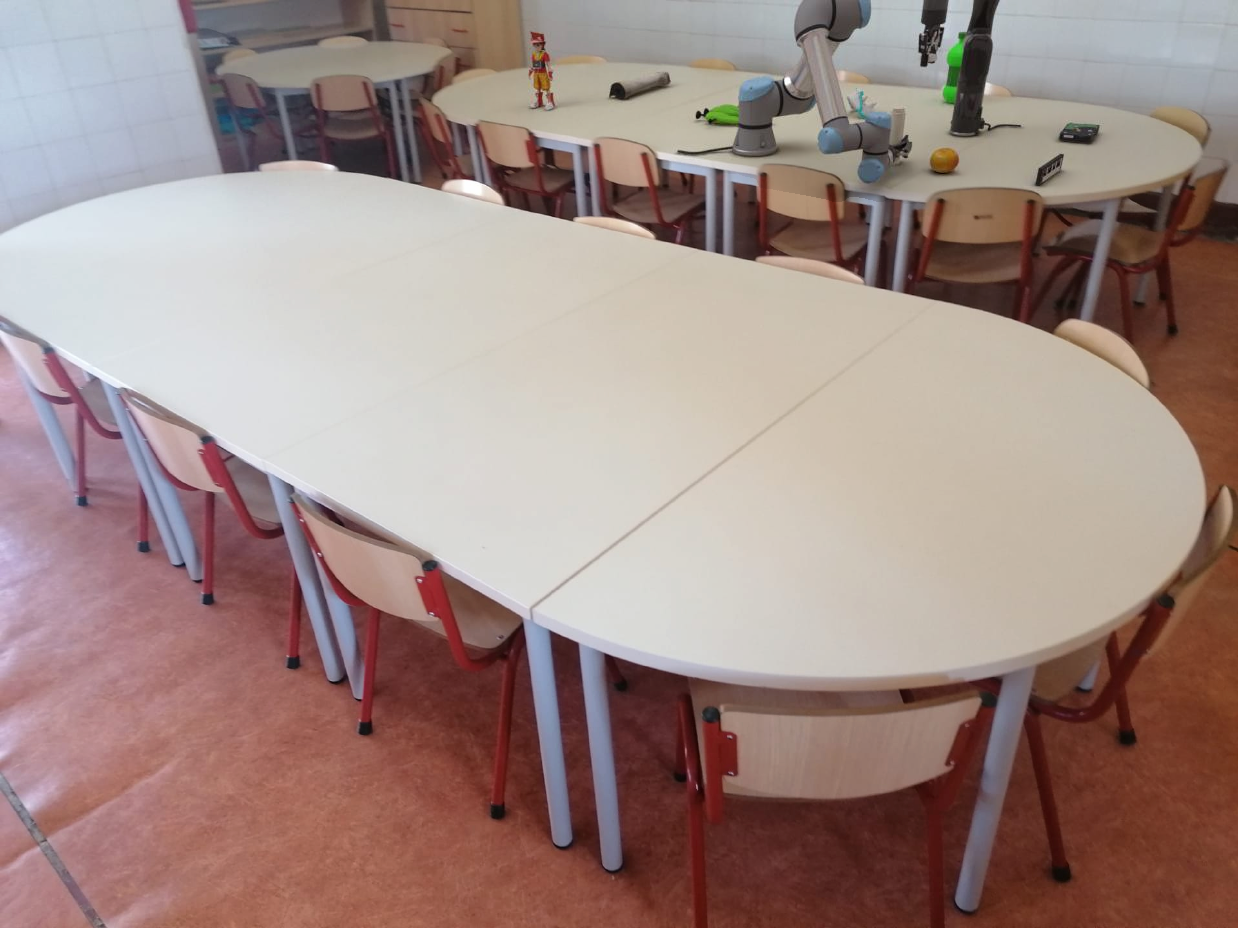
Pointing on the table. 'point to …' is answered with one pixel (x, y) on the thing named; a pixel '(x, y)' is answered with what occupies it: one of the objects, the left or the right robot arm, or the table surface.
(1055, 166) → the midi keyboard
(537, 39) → the toy
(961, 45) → the plastic bottle
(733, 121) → the toy
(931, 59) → the lid
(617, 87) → the rolled mat
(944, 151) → the fruit
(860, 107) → the anatomical model
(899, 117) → the beige plastic cylinder
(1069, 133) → the disk drive
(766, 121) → the left robot arm
